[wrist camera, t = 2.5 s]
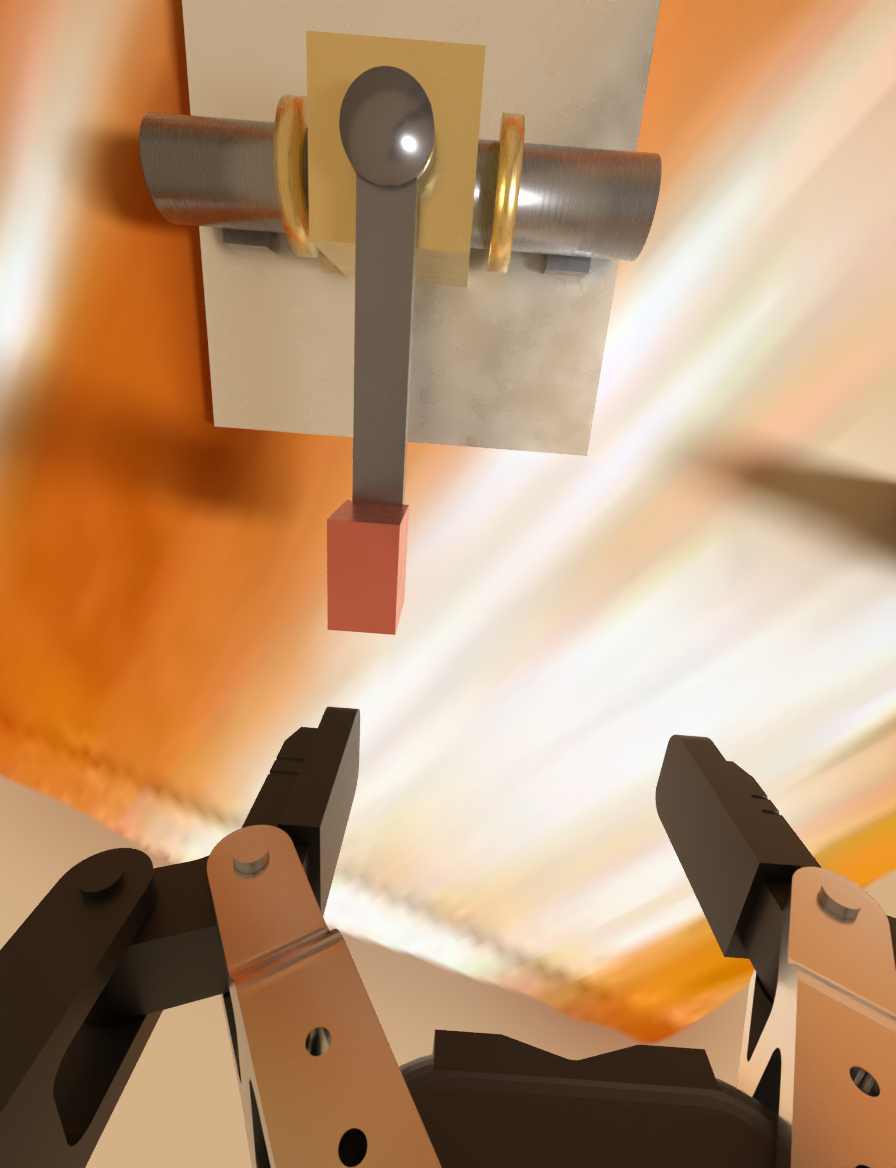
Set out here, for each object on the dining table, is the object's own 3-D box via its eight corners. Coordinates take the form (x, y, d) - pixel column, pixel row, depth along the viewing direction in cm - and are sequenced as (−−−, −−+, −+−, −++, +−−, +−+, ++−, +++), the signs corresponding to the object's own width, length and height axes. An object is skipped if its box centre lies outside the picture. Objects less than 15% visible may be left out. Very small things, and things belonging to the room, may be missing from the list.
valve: (655, -3, 27) (752, -197, 18) (582, 453, 35) (624, 475, 26) (189, -42, 27) (54, -256, 18) (222, 425, 35) (140, 437, 26)
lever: (347, 85, 21) (314, -5, 16) (438, 92, 21) (432, 5, 16) (344, 588, 28) (320, 629, 23) (411, 593, 28) (401, 635, 24)
